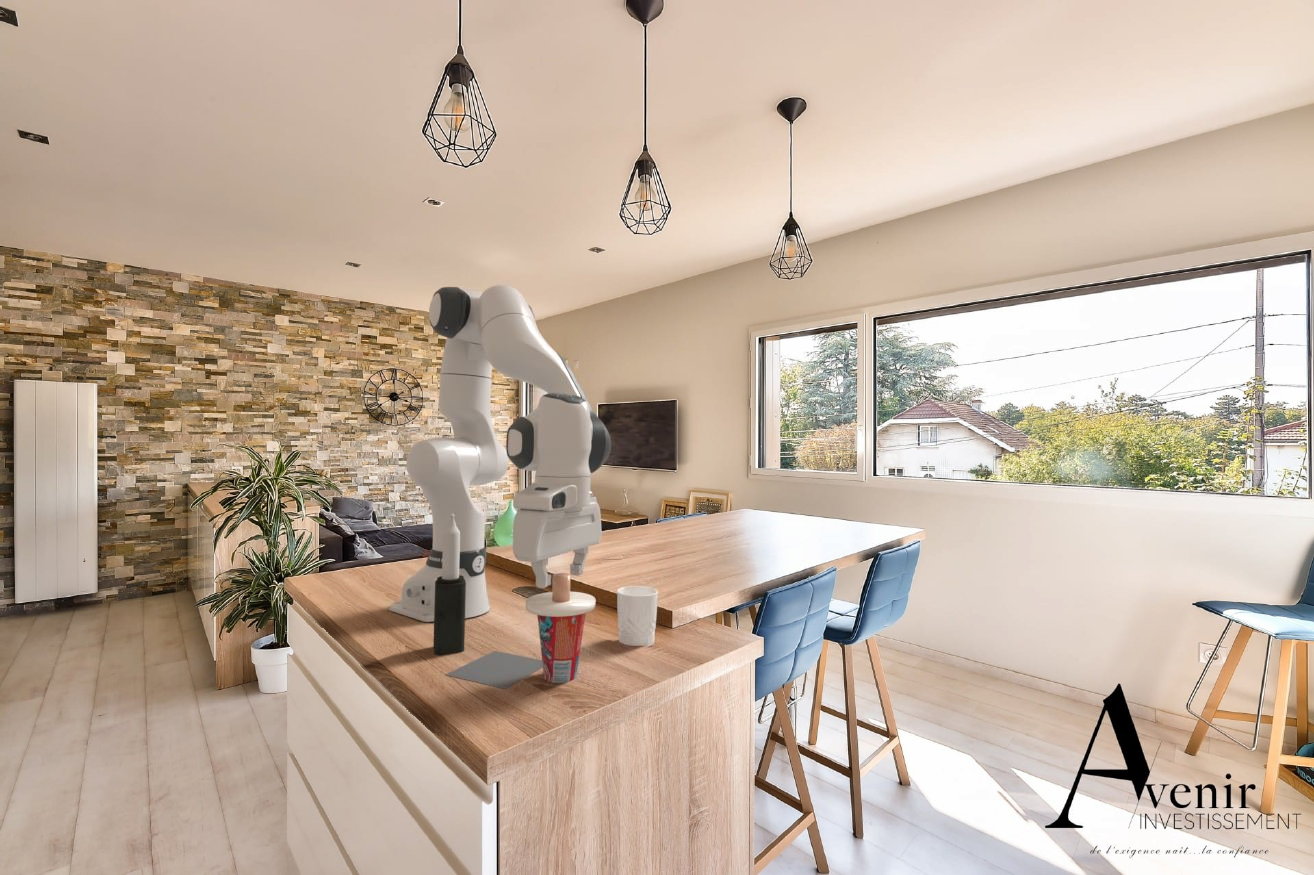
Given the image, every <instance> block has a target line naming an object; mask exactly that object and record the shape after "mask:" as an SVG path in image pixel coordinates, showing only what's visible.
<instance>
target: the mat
mask: <svg viewBox="0 0 1314 875" xmlns="http://www.w3.org/2000/svg"><path fill="white" fill-rule="evenodd" d="M541 669H543V663H542V659H538V658H532V657H527V656H523V655H517V654H513V653H508V652H503V651H498V650H494V651H491V652H490V653H487V654H485V655H483V656H481V657H479V658H476V659H474V660H473V661H470V662H469V663H466V664H464V665H462V666H460V667H457V668H455V669H454V670H451V671H450V672H447V673H446V674H445V676H448V677H452V678H455V679H460V680H465V681H468V682H473V683H478V684H481V685H486V686H491V687H494V688H498V689H503V690H506V689H508V688H510V687H512V686H513V685H515V684H517V683H518V682H520V681H521V680H523V679H525V678H527V677H528V676H530V675H532V674H534V673H535V672H537V671H539V670H541Z"/></svg>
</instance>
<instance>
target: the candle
mask: <svg viewBox="0 0 1314 875" xmlns="http://www.w3.org/2000/svg"><path fill="white" fill-rule="evenodd" d="M454 516H455V515H454V514H450V520H449V523H448V526H447V528H446V529H445V531H444V532H443V555H442V576H440V577H438V578H437V580H436V581H435V605H434V621H433V645H432V646H433V648H432V649H433V654H434V655H436V656H444V655H452V654H460V653H463V652H464V651H465V642H466V641H465V636H466V634H465V632H466V618H465V598H466V582H465V579H464V577H463V576H461V575H459V559H460V531H459V530H458V528H457V527H456V523H455V520H454Z"/></svg>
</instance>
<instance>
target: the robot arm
mask: <svg viewBox="0 0 1314 875" xmlns="http://www.w3.org/2000/svg"><path fill="white" fill-rule="evenodd" d="M428 315H429V324H430V326H431V328H432V329H433V331H434V333H435V334H437V335H439V336H442V337H444V338H446V340H445V343H444V348H443V353H442V358H441V362H440V363H441V364H440V377H439V392H438V404H437V405H438V409H439V412H440V413H441V414H442V416H443V417H444V418H446V419H447V420H448V421H449V423H450V425H451V428H452V431H453V437H433V438H429V439H428V438H427V439H424V440H421V441H417V442H415V444H413V446H412V447H411V448H410V450H409V451H408V454H407V457H406V470H407V473H408V475H409V478H410V479H411V480H412V481H413V482H414V483H415V484H417V485H418V486H419V487H420V489H421V490H422V491H423V494H425V497H426V499H427V500H428V504H429V506H430V510H431V511H430V512H431V517H432V548H431V549H430V550H425V551H423V552H422V554H423V555H422V558H425V557H427V558H426V559H427V560H426V562H425V565H424V566H423V567H422V568H420V569H419V570H417V572H415V574H413V575H411V577H409V578H408V579H407V580H405V582H404V583H403V585H402V588H401V590H402V591H401V596H400V597H401V598H400V600H398V601H397V600H396V601H395V602H393V603H392V604H390V605H389V609H388V611H390V612H394V613H396V614H400V615H403V616H405V617H408V618H413V619H415V620H417V621H421V622H423V623H424V622H425V623H429V622H434V605H435V581H436V580H437V578H438V577H440V576H442V555H443V532H444V531H445V529H446V528H447V526H448V523H449V520H450V514H454V515H455V516H454V520H455V523H456V527H457V528H458V530H459V531H460V559H459V575H461V576H463V577H464V579H465V582H466V598H465V619H469V618H475V617H478V616H481V615H484V614H486V613H488V612H489V611H490V610H491V605H490V601H489V596H488V591H487V582H486V572H485V571H486V570H485V568H486V563H487V547H486V546H485V531H486V529H485V528H486V522H485V521H486V516H485V512H484V511H483V509H482V508H481V507H479V505H477V504H476V503H475V502H474V499H473V498H472V495H471V491H470V486H484V485H487V484H489V483H490V484H491V483H493V482H495V481H498V480H500V479H502V478H503V477H504V476H505V475H506V473H507V471H508V469H509V462H511V463H512V464H513V466H515V467H516V468H518V469H519V470H524V471H529V472H535V474H534V482H531V484H529V485H528V486H527V487H526V488H523V489H522V490H520V491H519V492H518V493H516V494H515V495H514V497H513V507H514V508H515V509H518V510H517V512H516V513H515V515H514V518H513V523H512V524H513V525H512V526H513V527H512V552H513V553H512V554H513V555H514V557H515V559H516V560H517V561H520V562H526V563H527V562H528V563H530V567H531V569H532V570H533V574H534V575H535V586H536V587H537V588H539V589H545V588H547V587H550V586H552V585H551V584H552V582H551V580H552V574H548V570H547V567H546V566H548V565H549V559H551V558H553V557H557V556H560V555H564V554H567V553H570V552H571V553H572V552H573V553H574V557H573V558H572V559H573V560H572V563H570V564H569V565H570V566H569V569H570V570H569V574H570V576H577V577H578V576H581V575H582V574H584V571H585V570H584V564H585V562H586V560H587V557H588V554H589V547H591V546H594V545H598V544H600V542H601V539H602V532H603V531H602V516H601V507H600V505H599V503H598V501H597V500H598V499H597V496H595V494H594V492H593V491H592V490H591V480H592V477H591V474H592V473H595V472H596V471H598V470H600V468H601V467H602V466H603V465H604V464H605V462H607V460H608V458H609V456H610V454H611V450H612V440H611V436H610V433H609V430H608V428H606V425H605V424H604V423H603V421H602V420H601V419H600V417H598V415H597V414H596V413H595V411H594V410H593V408H592V406H591V404H590V403H589V400H588V399H587V397H586V395H585V393H584V392H583V389H582V387H581V385H580V384H579V382H578V379H577V378H576V376H575V374H574V373H573V371H572V369H571V368H570V366H569V364H568V363H567V361H566V359H564V358H563V357H562V356H561V355H560V354H559V353H558V352H556V351H555V350H554V348H552V346H550V344H549V343H548V342H547V340H546V339H545V338H544V337H543V335H542V333H541V332H540V331H539V328H538V326H537V323H536V320H535V314H534V311H533V308H532V307H531V306H530V305H529V304H528V302H527V301H526V299H525V298H524V296H523V294H522V293H521V292H520V291H519V290H517V289H516V288H515V287H513V286H510V285H507V284H496V285H492V286H490V287H488V288H486V289H485V290H484V291H480V290H473V289H465V288H464V289H463V288H460V287H457V286H444V287H443V286H442V287H441V288H438V290H436V291H435V292H434V294H433V296H432V299H431V301H430V303H429V308H428ZM493 368H494V370H496V371H497V372H498V373H500V374H502V375H504V376H505V377H507V378H511V379H512V380H513V379H514V380H518V381H521V382H524V383H527V384H530V385H531V386H534V387H537V388H539V389H541V390H543V391H544V392H546V394H542V396H541V397H540V398H539V401H538V404H537V406H536V408H535V409H534V410H533V411H532V412H530V413H529V414H527V415H524V416H520V417H518V418H516V419H515V420H514V421H513V422H512V424H511V425H510V426H509V428H508V429H507V431H506V432H507V433H506V440H505V441H506V442H505V443H506V446H504V445H503V444H501V442H500V441H499V439H498V437H497V434H496V432H495V429H494V424H493V421H492V414H491V413H492V410H491V405H492V404H491V398H492V380H493V379H492V378H493ZM505 447H506V448H505Z"/></svg>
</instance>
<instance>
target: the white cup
mask: <svg viewBox="0 0 1314 875" xmlns="http://www.w3.org/2000/svg"><path fill="white" fill-rule="evenodd" d="M616 594H617V595H616V597H617V600H616V601H617V602H616V604H617V626H618V642H619V643H620V644H624V645H625V646H631V647H635V646H636V647H647V648H649V647H651V646H653V645H654V643H655V634H656V633H655V632H656V626H657V625H656V624H657V614H658V613H657V612H658V597H659V590H658V589H657V588H654V587H651V586H646V585H629V586H622V587H620V588H618V589H617V590H616Z"/></svg>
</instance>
